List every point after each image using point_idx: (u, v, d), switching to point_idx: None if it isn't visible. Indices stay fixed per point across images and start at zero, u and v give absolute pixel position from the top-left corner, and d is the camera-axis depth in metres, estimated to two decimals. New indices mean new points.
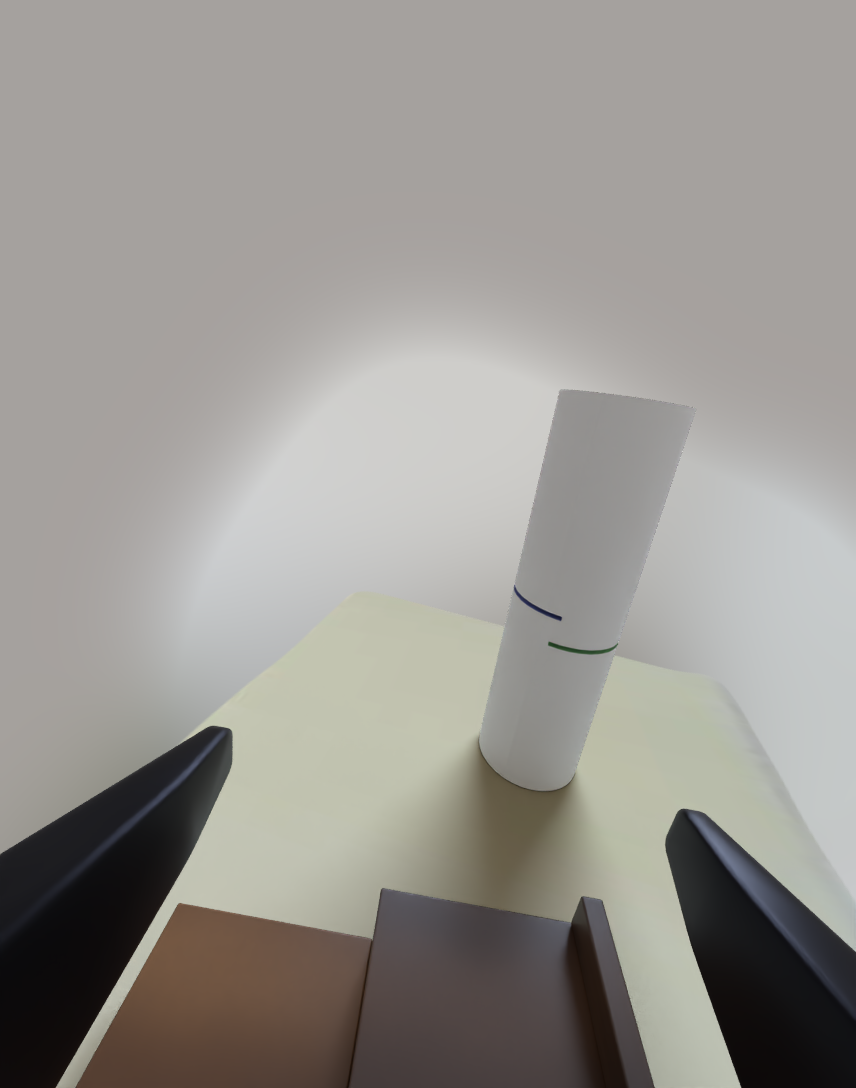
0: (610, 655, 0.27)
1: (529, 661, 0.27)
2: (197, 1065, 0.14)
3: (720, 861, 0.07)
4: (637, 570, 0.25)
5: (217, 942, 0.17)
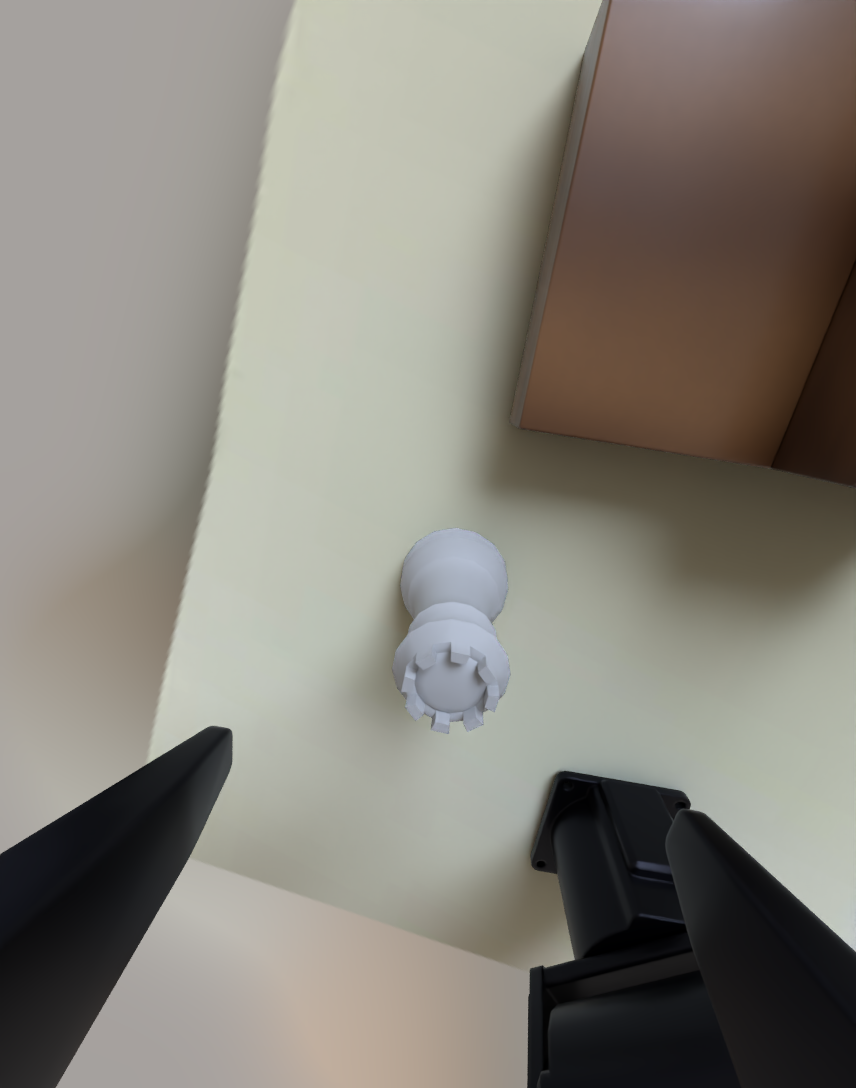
0: None
1: None
2: (695, 183, 0.11)
3: (720, 861, 0.07)
4: None
5: (696, 22, 0.10)
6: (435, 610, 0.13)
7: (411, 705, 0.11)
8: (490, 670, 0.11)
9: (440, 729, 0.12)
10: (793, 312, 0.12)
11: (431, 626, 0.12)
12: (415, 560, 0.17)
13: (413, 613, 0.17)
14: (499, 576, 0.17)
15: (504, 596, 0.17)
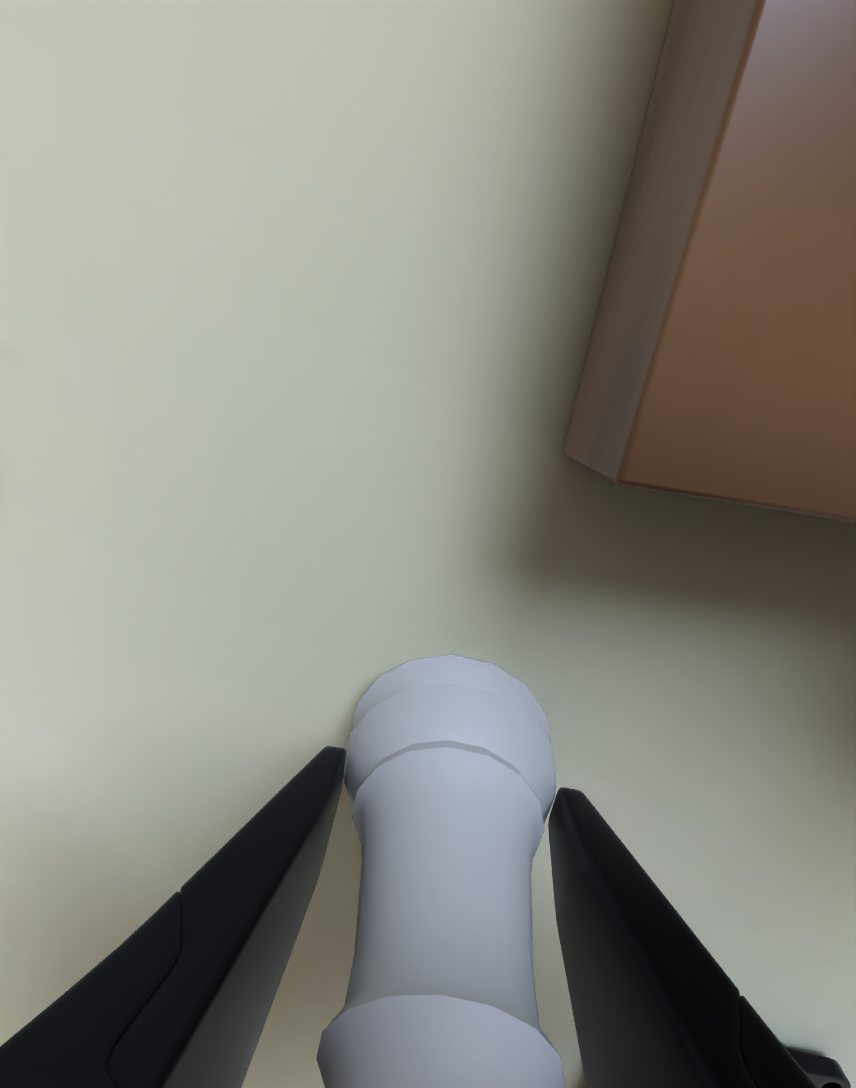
0: None
1: None
2: None
3: (580, 836, 0.07)
4: None
5: None
6: (388, 1025, 0.04)
7: None
8: None
9: None
10: None
11: None
12: (369, 735, 0.08)
13: None
14: (542, 770, 0.08)
15: (550, 803, 0.08)
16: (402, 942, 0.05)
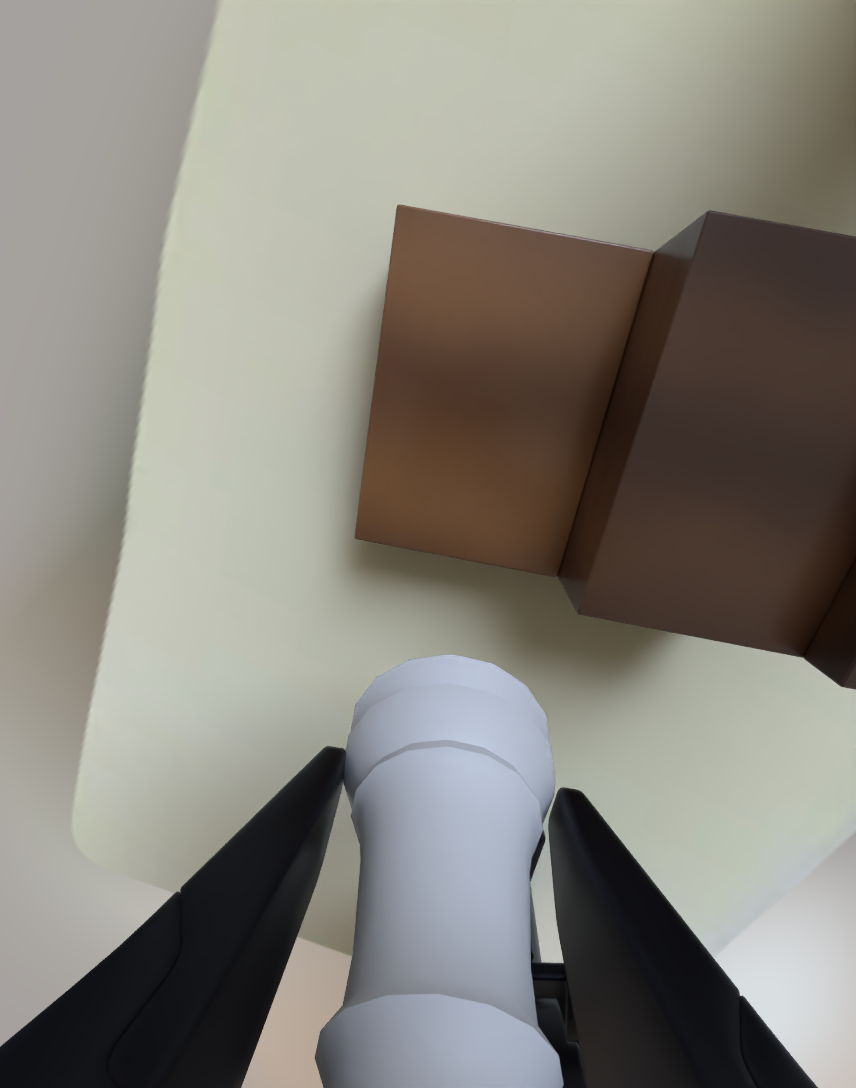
0: None
1: None
2: (472, 366, 0.15)
3: (580, 836, 0.07)
4: None
5: (459, 254, 0.14)
6: (386, 1024, 0.04)
7: None
8: None
9: None
10: (559, 462, 0.15)
11: None
12: (368, 734, 0.08)
13: None
14: (541, 770, 0.08)
15: (549, 802, 0.08)
16: (400, 941, 0.05)
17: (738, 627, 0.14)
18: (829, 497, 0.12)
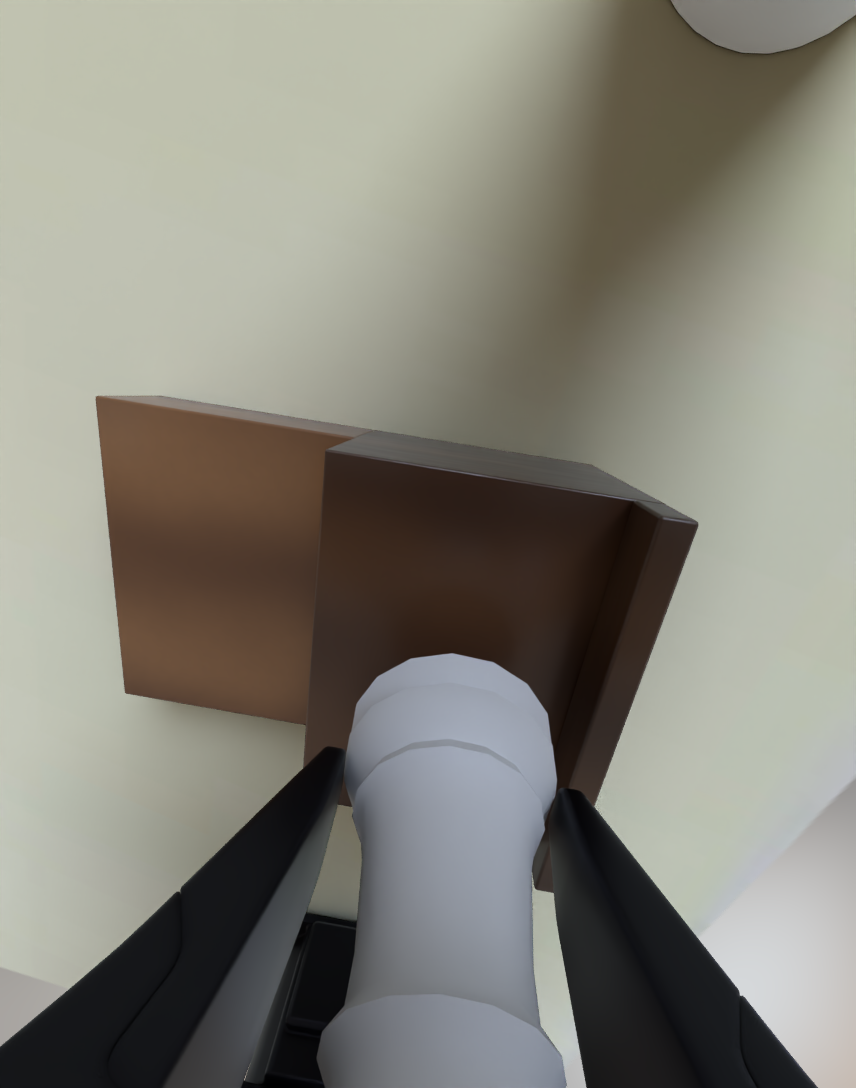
0: None
1: None
2: (201, 541, 0.14)
3: (580, 836, 0.07)
4: None
5: (165, 441, 0.13)
6: (389, 1024, 0.04)
7: None
8: None
9: None
10: (305, 627, 0.15)
11: None
12: (369, 734, 0.08)
13: None
14: (543, 769, 0.08)
15: (551, 802, 0.08)
16: (402, 941, 0.05)
17: None
18: None
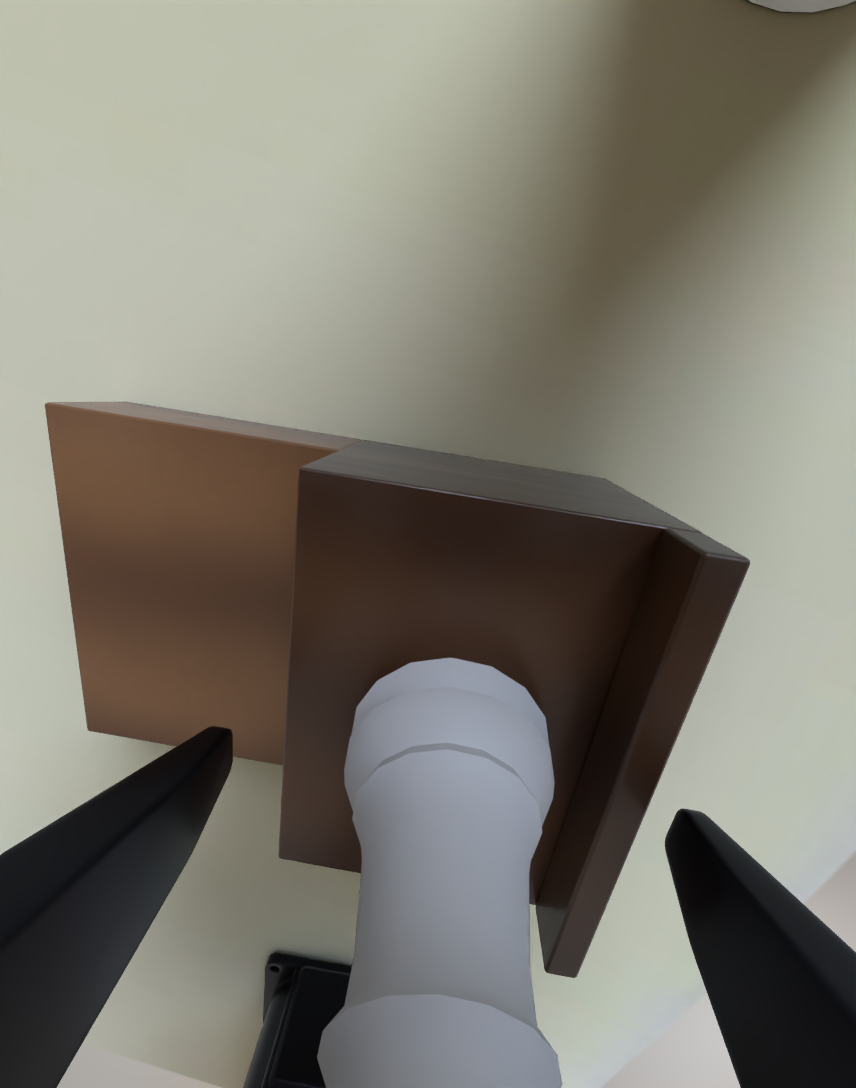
0: None
1: None
2: (168, 565, 0.13)
3: (720, 861, 0.07)
4: None
5: (124, 454, 0.12)
6: (388, 1024, 0.05)
7: None
8: None
9: None
10: (285, 660, 0.14)
11: None
12: (369, 738, 0.08)
13: None
14: (540, 772, 0.08)
15: (548, 804, 0.08)
16: (401, 942, 0.05)
17: None
18: None
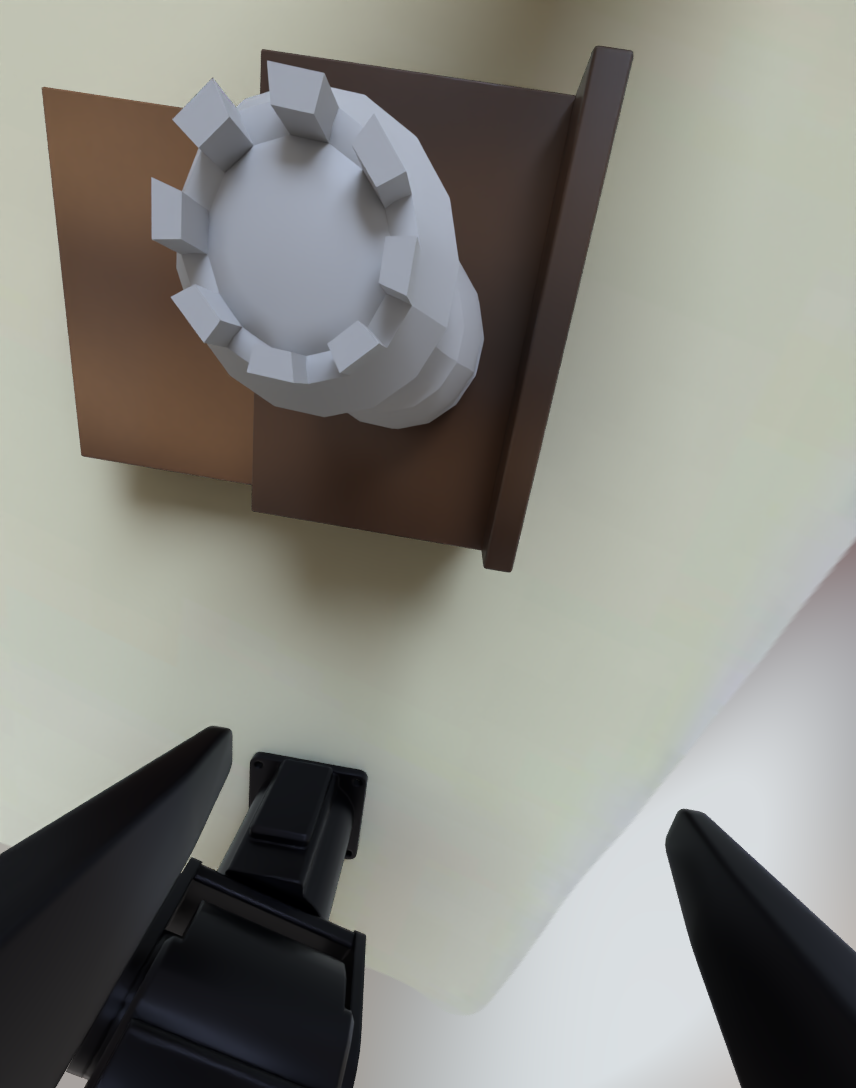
0: None
1: None
2: (153, 262, 0.14)
3: (720, 861, 0.07)
4: None
5: (113, 139, 0.13)
6: None
7: (186, 290, 0.04)
8: (388, 143, 0.04)
9: (273, 378, 0.05)
10: None
11: (249, 100, 0.04)
12: None
13: None
14: (465, 292, 0.09)
15: (475, 337, 0.10)
16: None
17: (410, 519, 0.13)
18: None
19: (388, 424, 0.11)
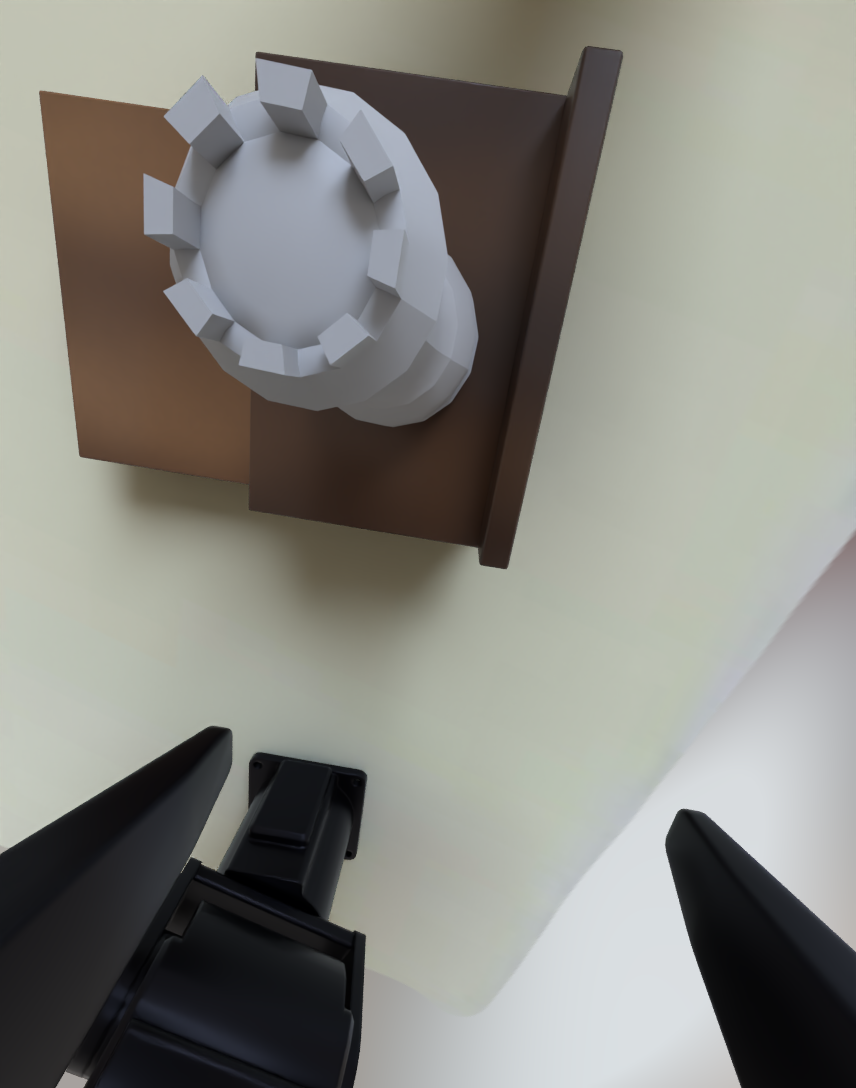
0: None
1: None
2: (150, 263, 0.14)
3: (720, 861, 0.07)
4: None
5: (110, 142, 0.13)
6: None
7: (179, 285, 0.04)
8: (375, 138, 0.04)
9: (266, 370, 0.05)
10: None
11: (240, 99, 0.05)
12: None
13: None
14: (459, 290, 0.10)
15: (469, 334, 0.10)
16: None
17: (407, 517, 0.13)
18: None
19: (383, 422, 0.11)
